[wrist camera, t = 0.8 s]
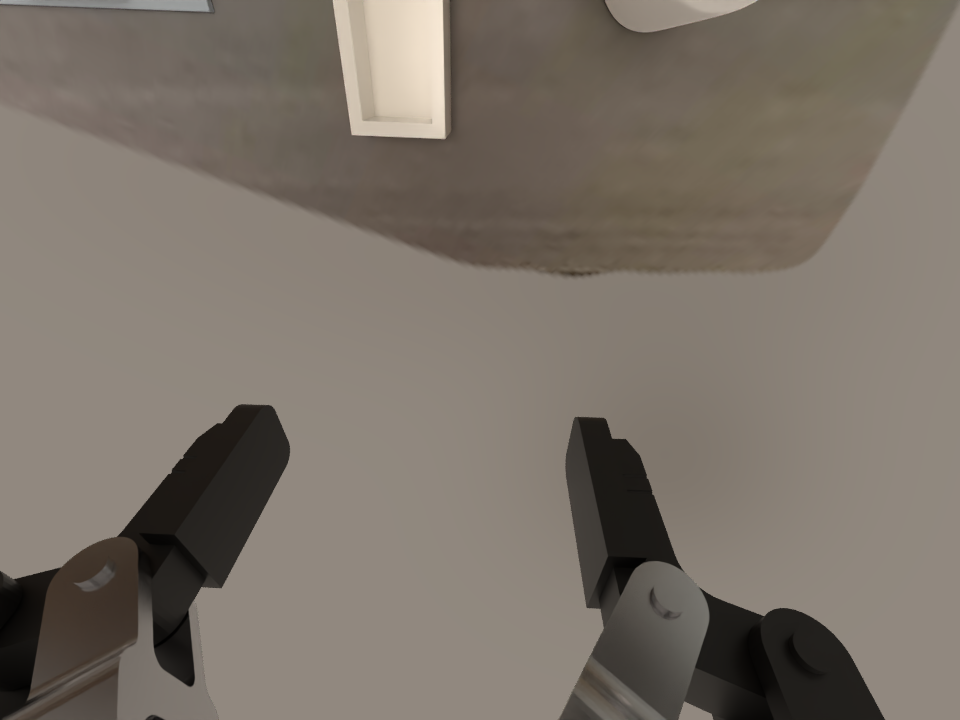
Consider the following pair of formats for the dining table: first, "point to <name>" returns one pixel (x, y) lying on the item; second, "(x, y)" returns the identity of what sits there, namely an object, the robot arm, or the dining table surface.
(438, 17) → the dish
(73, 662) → the robot arm
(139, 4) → the mat
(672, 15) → the can
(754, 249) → the dining table surface
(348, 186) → the dining table surface
